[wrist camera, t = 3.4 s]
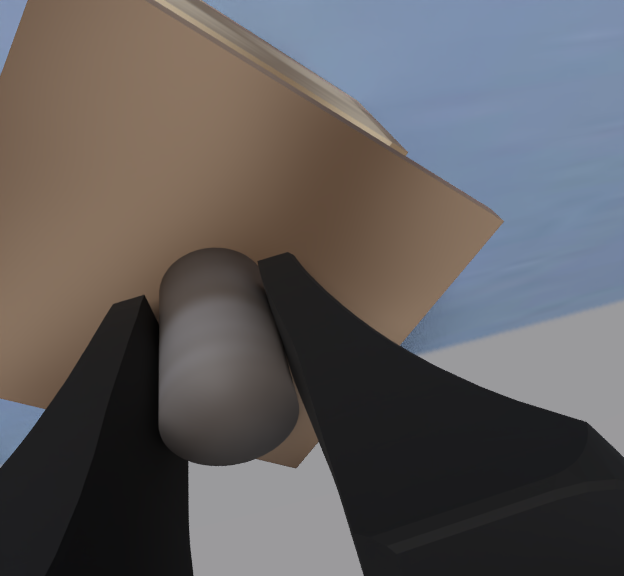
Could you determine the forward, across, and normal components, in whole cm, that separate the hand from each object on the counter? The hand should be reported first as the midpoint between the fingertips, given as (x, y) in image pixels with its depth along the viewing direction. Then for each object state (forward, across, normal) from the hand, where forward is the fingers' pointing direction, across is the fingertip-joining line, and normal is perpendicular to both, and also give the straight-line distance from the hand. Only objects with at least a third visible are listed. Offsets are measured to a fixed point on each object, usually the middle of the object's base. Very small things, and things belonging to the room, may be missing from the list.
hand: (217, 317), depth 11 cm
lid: (+1, 0, 0) cm, 1 cm away
